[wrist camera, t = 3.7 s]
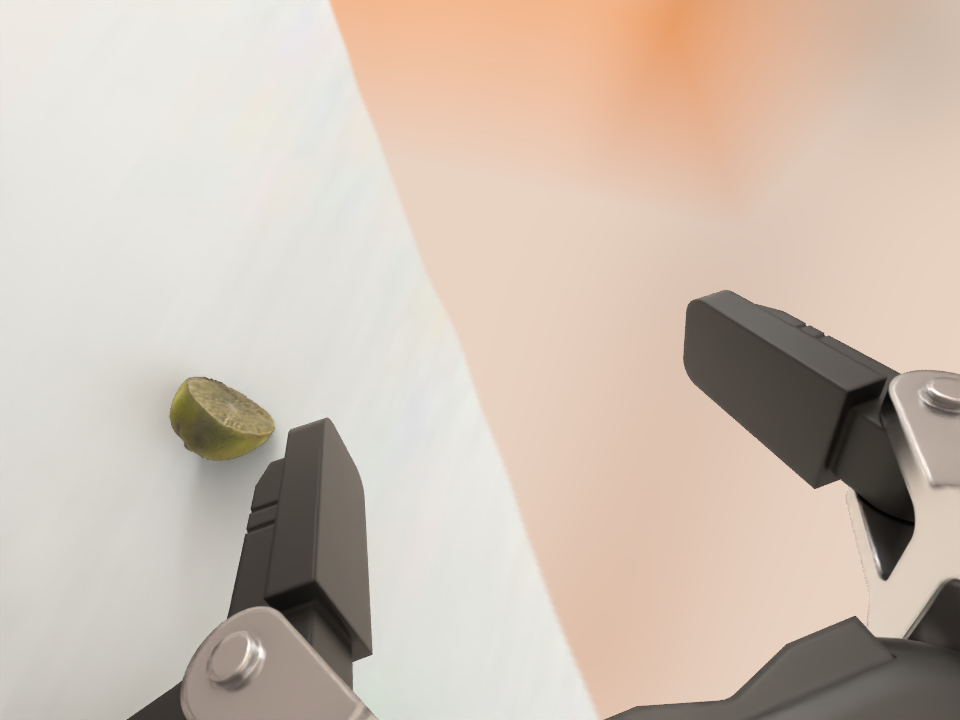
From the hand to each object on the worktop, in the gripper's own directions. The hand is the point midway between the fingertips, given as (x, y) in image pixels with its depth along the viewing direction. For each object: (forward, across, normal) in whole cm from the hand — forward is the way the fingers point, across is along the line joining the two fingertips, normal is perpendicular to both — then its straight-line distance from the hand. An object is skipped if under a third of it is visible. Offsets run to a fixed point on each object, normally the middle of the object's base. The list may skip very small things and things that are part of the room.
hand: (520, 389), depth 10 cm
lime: (+15, +13, +9) cm, 22 cm away
